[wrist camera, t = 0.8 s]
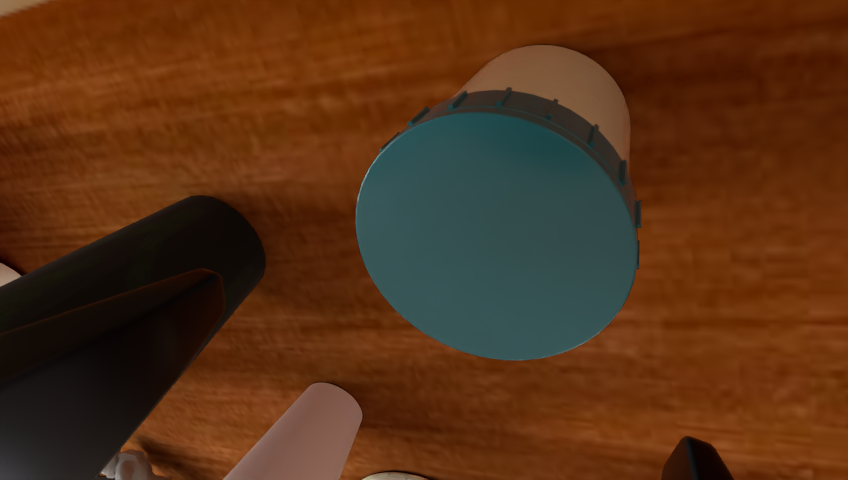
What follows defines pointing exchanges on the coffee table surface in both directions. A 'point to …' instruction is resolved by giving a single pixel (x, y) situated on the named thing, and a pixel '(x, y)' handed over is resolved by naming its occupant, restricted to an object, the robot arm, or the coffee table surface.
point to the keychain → (104, 478)
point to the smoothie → (305, 439)
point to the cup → (143, 264)
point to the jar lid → (501, 225)
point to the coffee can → (393, 476)
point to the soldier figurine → (131, 467)
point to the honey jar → (562, 87)
